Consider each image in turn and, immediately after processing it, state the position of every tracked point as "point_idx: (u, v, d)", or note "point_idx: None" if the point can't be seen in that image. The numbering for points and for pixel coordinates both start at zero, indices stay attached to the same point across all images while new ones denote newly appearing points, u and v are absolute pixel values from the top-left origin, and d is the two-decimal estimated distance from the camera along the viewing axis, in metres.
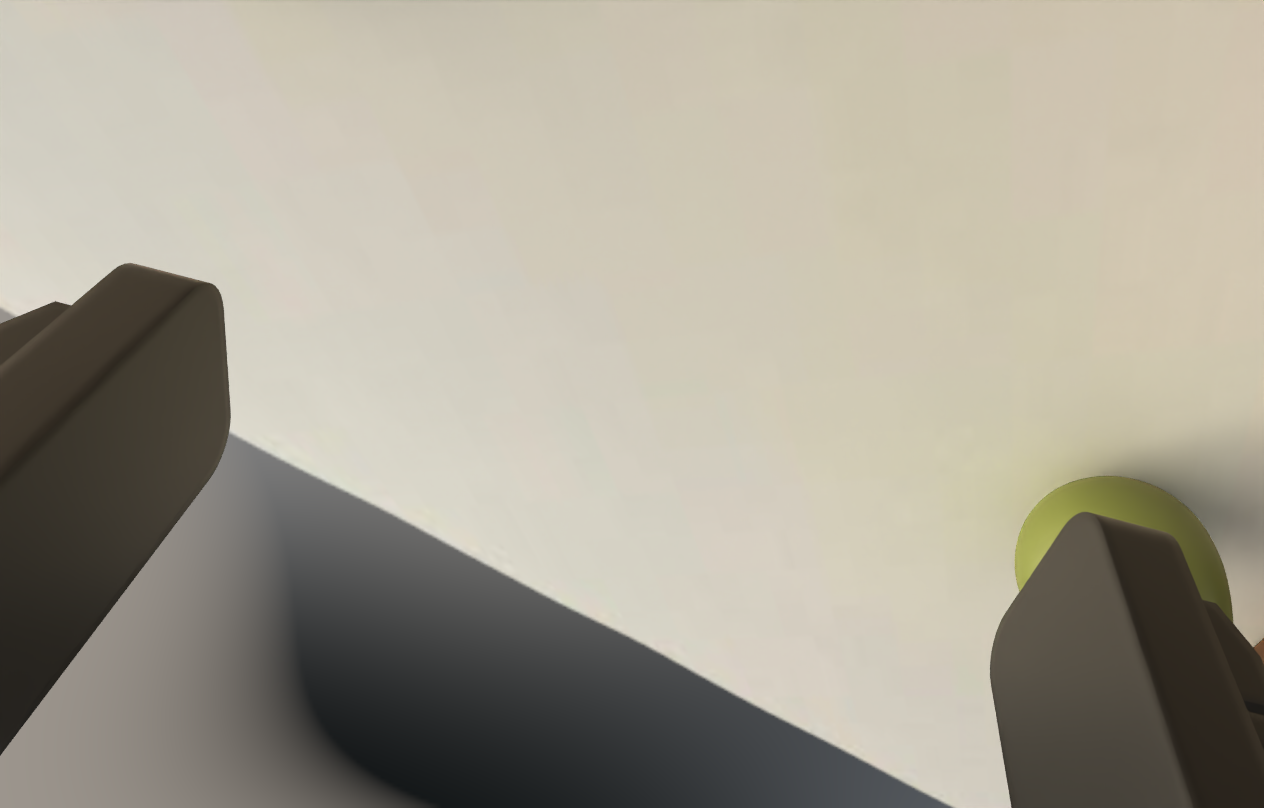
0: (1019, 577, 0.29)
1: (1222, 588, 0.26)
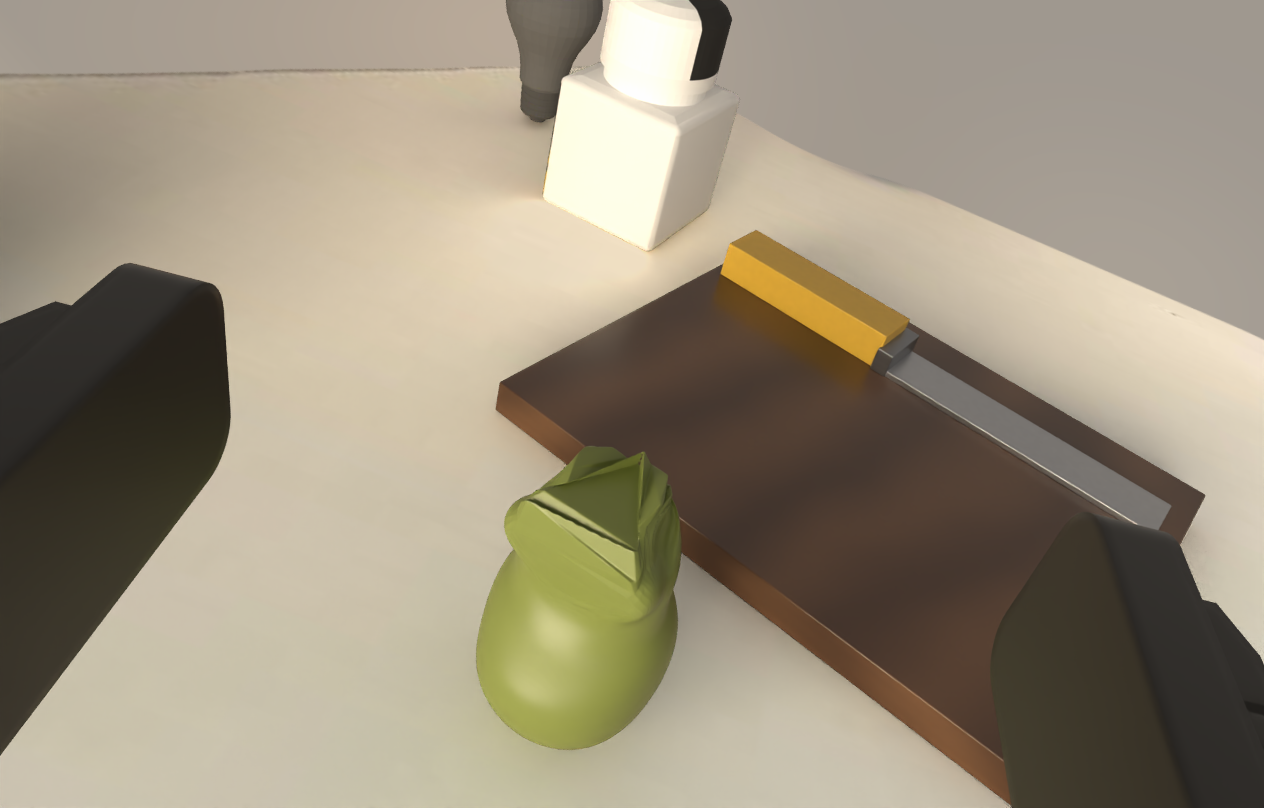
0: (536, 714, 0.27)
1: None
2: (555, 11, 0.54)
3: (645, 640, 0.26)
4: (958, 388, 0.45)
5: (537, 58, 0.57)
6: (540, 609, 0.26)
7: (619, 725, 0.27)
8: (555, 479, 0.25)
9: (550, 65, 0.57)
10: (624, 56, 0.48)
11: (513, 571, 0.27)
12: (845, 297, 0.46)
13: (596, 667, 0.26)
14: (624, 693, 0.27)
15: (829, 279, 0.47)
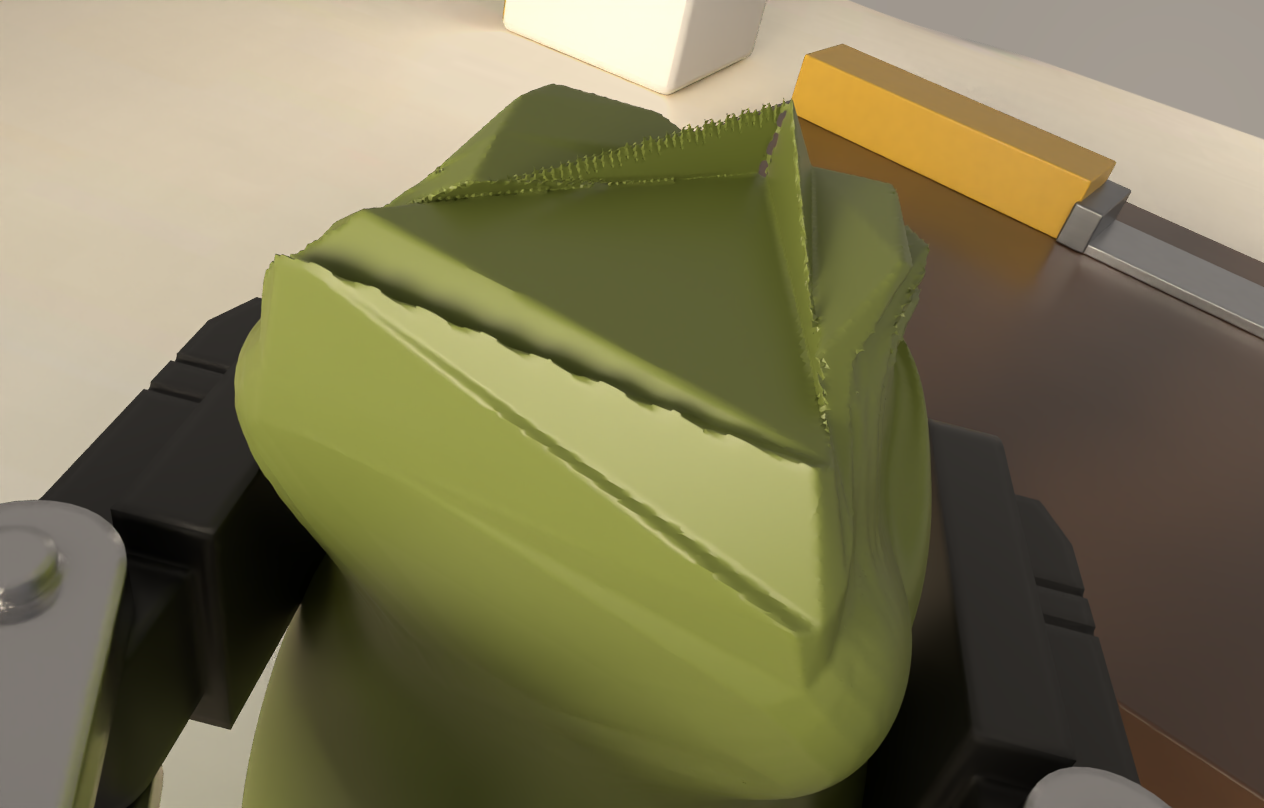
0: None
1: None
2: None
3: None
4: (1209, 272, 0.26)
5: None
6: (406, 732, 0.07)
7: None
8: (421, 181, 0.06)
9: None
10: None
11: (324, 595, 0.08)
12: (1006, 129, 0.28)
13: None
14: None
15: (972, 106, 0.29)
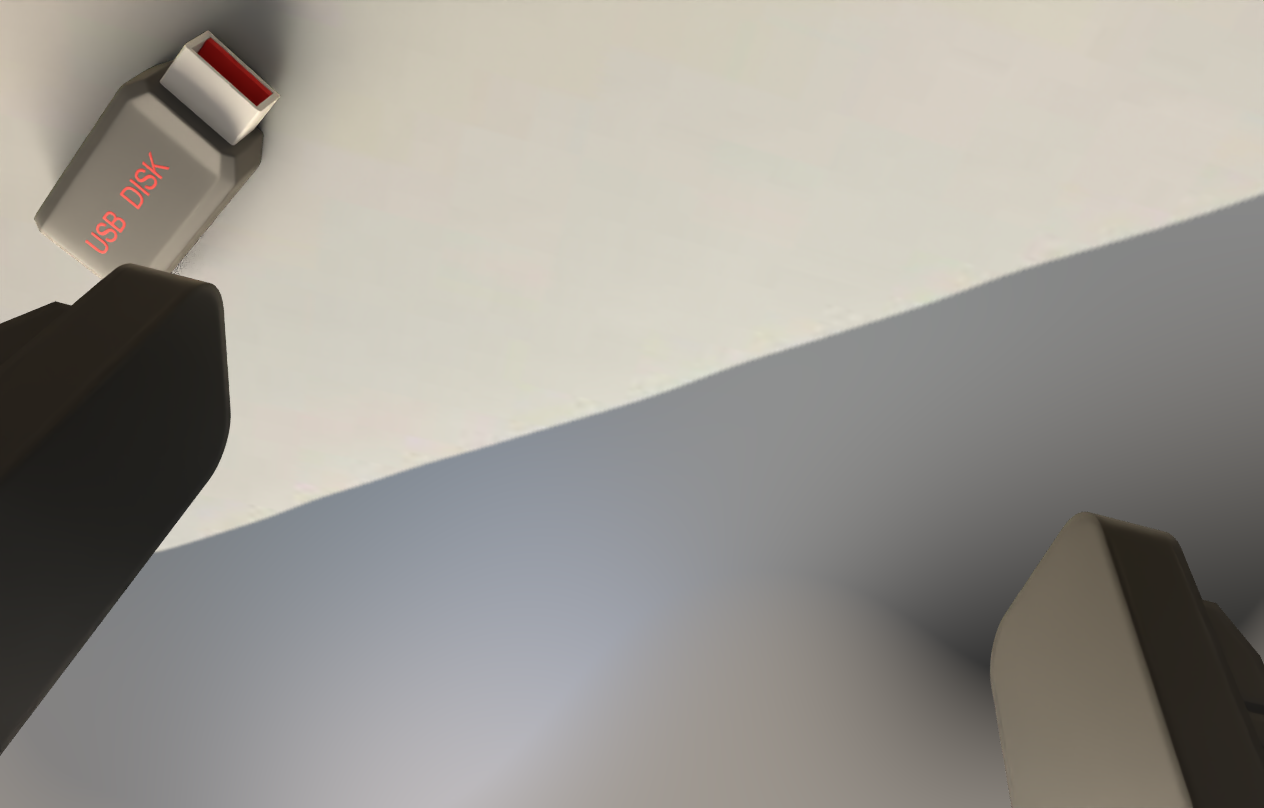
0: None
1: None
2: None
3: None
4: None
5: None
6: None
7: None
8: None
9: None
10: None
11: None
12: None
13: None
14: None
15: None
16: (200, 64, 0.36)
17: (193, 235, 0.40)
